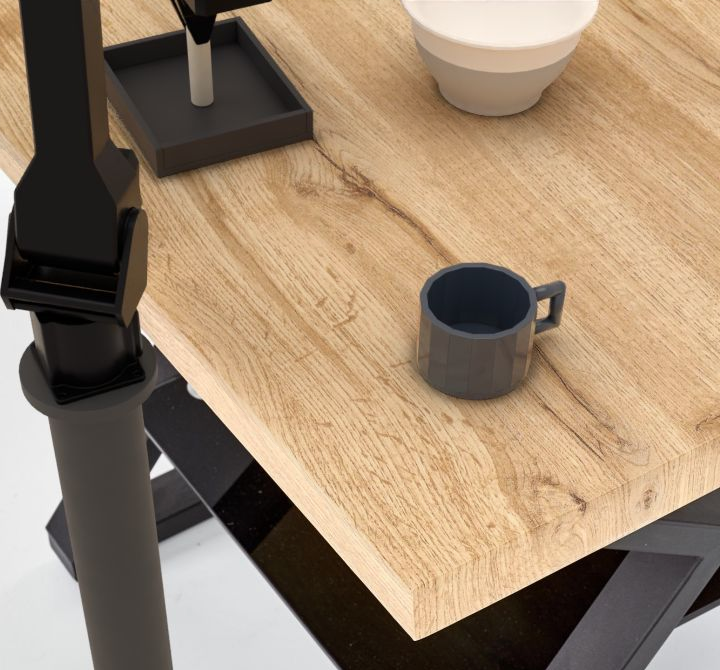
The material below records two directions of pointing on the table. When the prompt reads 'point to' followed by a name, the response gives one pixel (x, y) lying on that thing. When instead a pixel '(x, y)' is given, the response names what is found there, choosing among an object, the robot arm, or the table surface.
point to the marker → (200, 72)
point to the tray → (204, 123)
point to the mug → (481, 328)
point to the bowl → (497, 48)
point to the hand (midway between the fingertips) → (197, 36)
